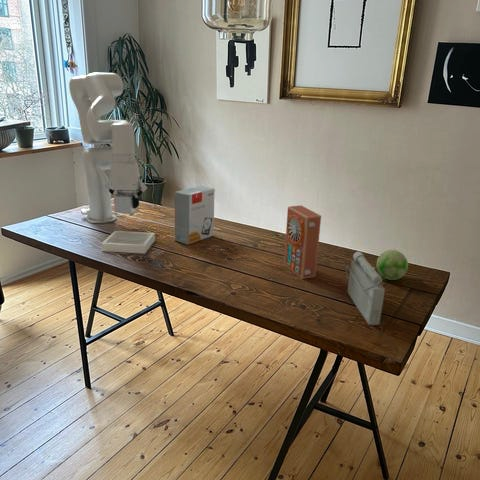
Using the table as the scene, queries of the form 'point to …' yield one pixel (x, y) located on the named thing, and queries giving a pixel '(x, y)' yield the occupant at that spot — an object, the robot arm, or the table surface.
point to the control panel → (302, 241)
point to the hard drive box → (194, 214)
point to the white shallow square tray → (128, 242)
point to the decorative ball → (392, 265)
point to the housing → (124, 202)
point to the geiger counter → (365, 288)
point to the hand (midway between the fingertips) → (127, 206)
